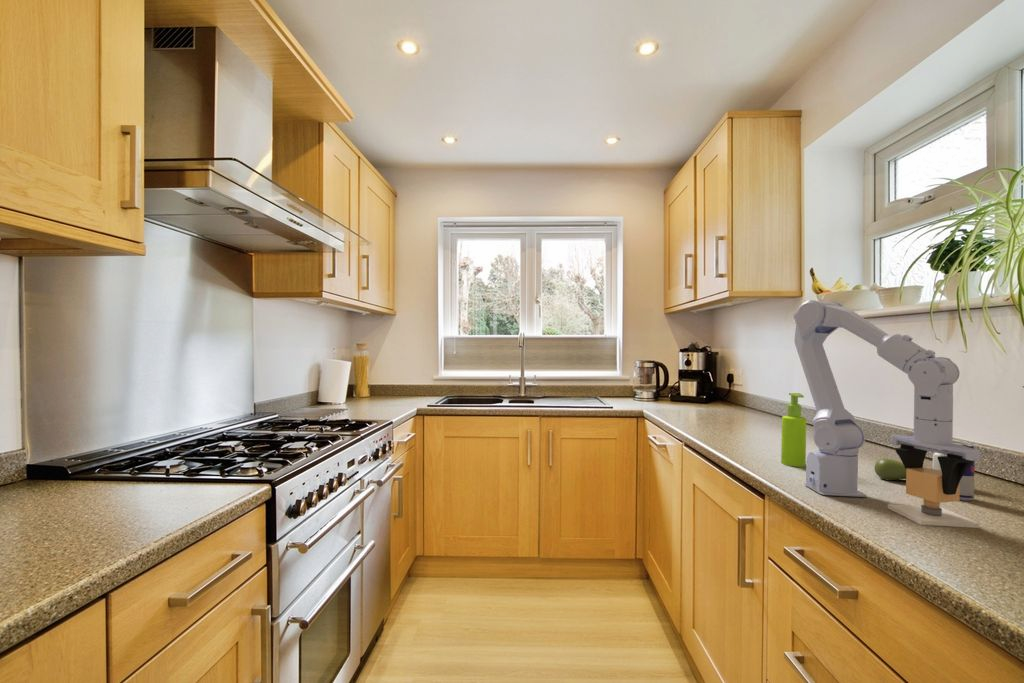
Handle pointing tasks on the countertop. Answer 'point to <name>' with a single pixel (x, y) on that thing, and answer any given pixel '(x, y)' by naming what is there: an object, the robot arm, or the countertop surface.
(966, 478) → the energy drink
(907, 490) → the cardboard-colored cube
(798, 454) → the soap dispenser
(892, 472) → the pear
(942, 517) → the plate
